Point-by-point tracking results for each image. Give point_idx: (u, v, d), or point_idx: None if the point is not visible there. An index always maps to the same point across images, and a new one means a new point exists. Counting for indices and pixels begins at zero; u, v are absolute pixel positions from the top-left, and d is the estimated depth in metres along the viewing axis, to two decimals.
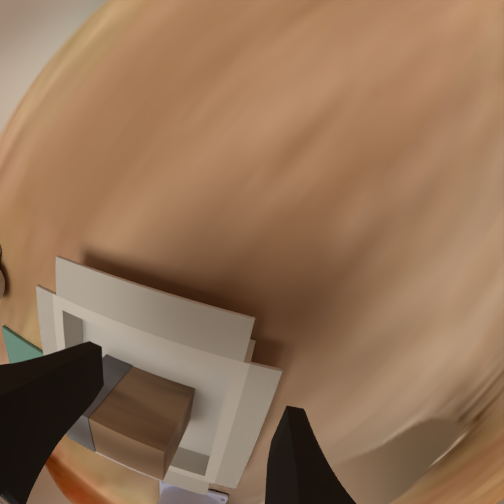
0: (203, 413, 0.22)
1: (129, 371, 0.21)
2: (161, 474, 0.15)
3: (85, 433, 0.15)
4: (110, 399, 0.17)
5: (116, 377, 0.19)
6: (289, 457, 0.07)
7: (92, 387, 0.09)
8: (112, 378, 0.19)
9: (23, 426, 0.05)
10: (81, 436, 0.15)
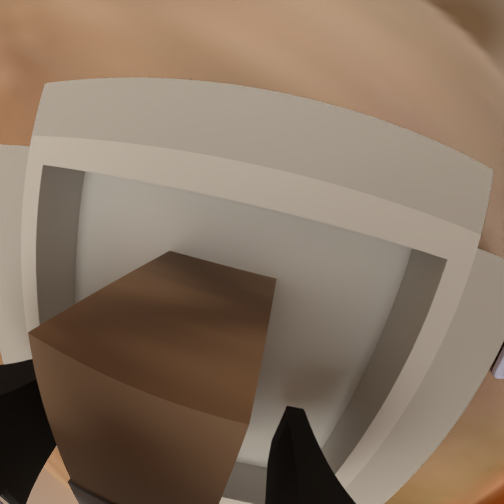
0: (244, 241, 0.10)
1: None
2: (191, 414, 0.04)
3: None
4: None
5: None
6: (289, 457, 0.07)
7: None
8: None
9: (23, 426, 0.05)
10: None
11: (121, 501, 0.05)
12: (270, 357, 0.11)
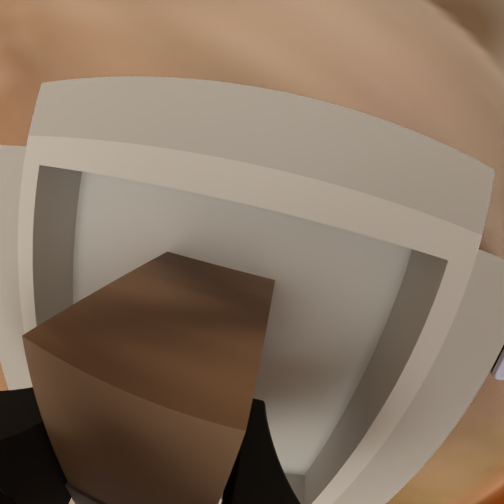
0: (242, 241, 0.10)
1: None
2: (186, 420, 0.04)
3: None
4: None
5: None
6: None
7: None
8: None
9: None
10: None
11: None
12: (268, 359, 0.11)
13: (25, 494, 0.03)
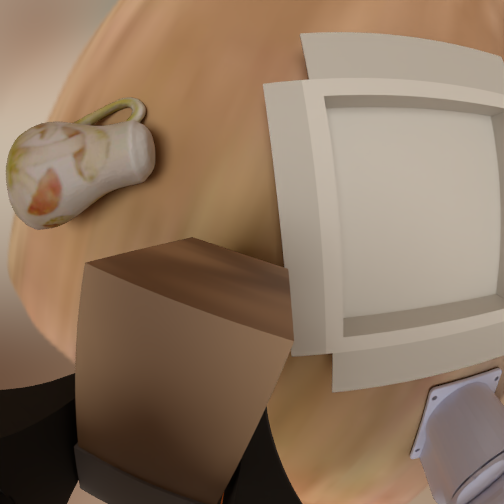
0: (487, 215, 0.15)
1: None
2: (244, 332, 0.05)
3: (140, 491, 0.06)
4: None
5: None
6: None
7: None
8: None
9: (58, 450, 0.05)
10: None
11: (132, 464, 0.05)
12: (440, 249, 0.16)
13: (24, 493, 0.03)
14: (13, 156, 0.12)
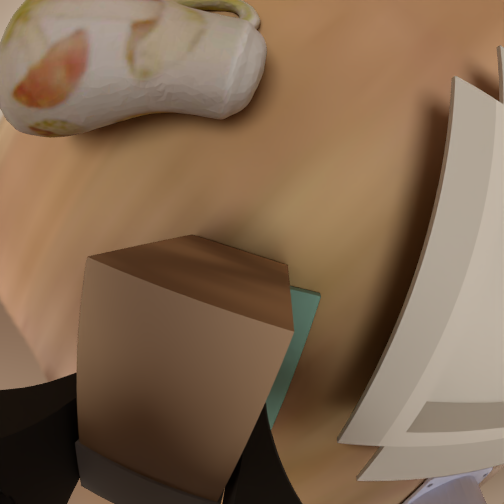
0: None
1: None
2: (245, 323, 0.05)
3: (141, 487, 0.06)
4: None
5: None
6: None
7: None
8: None
9: (58, 450, 0.05)
10: None
11: (134, 460, 0.06)
12: None
13: (24, 493, 0.03)
14: None
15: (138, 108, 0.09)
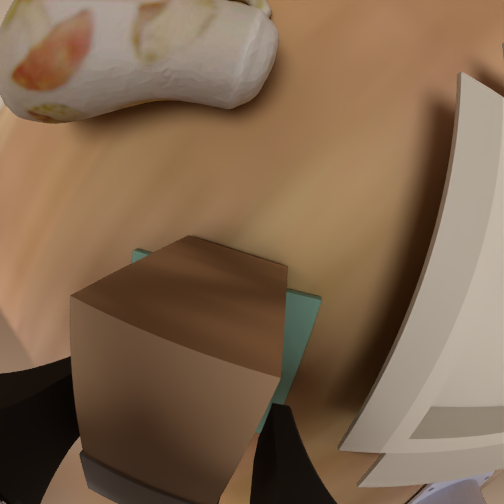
0: None
1: None
2: (230, 369, 0.05)
3: (143, 494, 0.06)
4: None
5: None
6: (272, 454, 0.07)
7: None
8: None
9: (35, 435, 0.05)
10: None
11: (134, 472, 0.06)
12: None
13: (0, 473, 0.03)
14: None
15: (142, 94, 0.08)
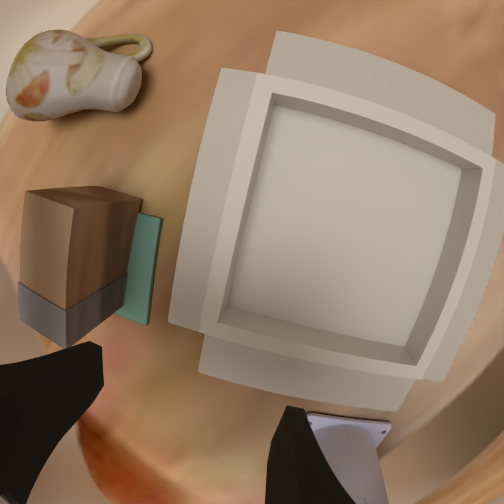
0: (418, 265, 0.17)
1: None
2: (62, 207, 0.12)
3: (39, 304, 0.13)
4: None
5: None
6: (289, 457, 0.07)
7: (92, 387, 0.09)
8: None
9: (23, 426, 0.05)
10: (48, 317, 0.13)
11: (37, 284, 0.13)
12: (352, 278, 0.18)
13: None
14: (25, 49, 0.11)
15: (75, 107, 0.15)
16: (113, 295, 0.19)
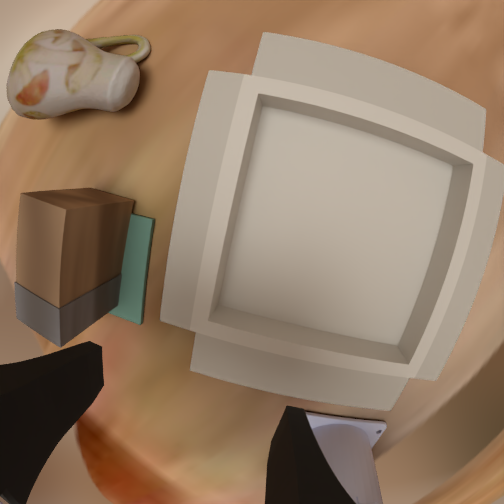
0: (409, 262, 0.17)
1: None
2: (55, 208, 0.12)
3: (35, 303, 0.13)
4: None
5: None
6: (289, 457, 0.07)
7: (92, 387, 0.09)
8: None
9: (23, 426, 0.05)
10: (43, 315, 0.14)
11: (32, 283, 0.13)
12: (342, 276, 0.18)
13: None
14: (26, 48, 0.11)
15: (73, 106, 0.15)
16: (107, 295, 0.19)
